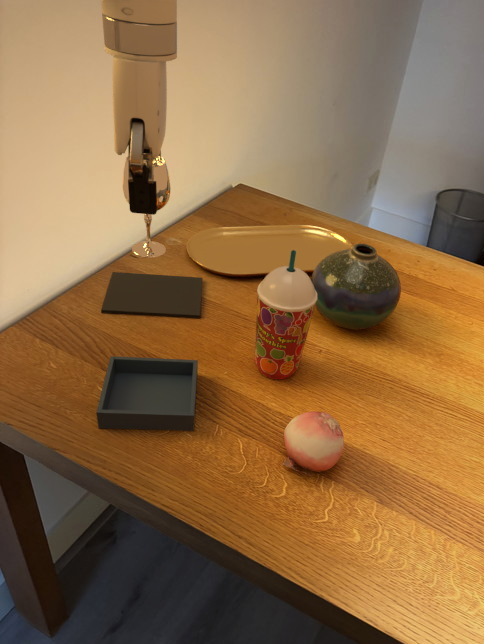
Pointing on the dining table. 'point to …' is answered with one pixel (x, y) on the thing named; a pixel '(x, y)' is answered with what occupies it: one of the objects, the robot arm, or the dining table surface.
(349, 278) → the vase
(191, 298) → the mat
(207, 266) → the serving platter
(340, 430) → the onion
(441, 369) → the dining table surface
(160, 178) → the wineglass
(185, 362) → the tray
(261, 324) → the smoothie
